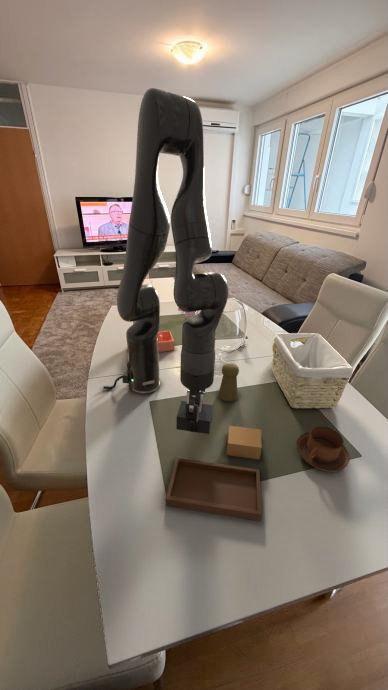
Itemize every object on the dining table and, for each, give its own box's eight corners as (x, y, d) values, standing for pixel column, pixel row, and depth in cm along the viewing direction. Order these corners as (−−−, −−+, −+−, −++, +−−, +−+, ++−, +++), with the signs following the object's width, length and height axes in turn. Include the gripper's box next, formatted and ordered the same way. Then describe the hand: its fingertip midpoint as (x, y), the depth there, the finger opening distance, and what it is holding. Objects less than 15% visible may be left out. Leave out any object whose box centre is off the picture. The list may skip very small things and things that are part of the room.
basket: (267, 368, 108) (273, 331, 101) (311, 368, 109) (320, 331, 102) (289, 412, 87) (298, 370, 80) (342, 411, 88) (356, 369, 81)
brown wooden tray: (165, 505, 61) (165, 499, 60) (176, 463, 70) (176, 457, 69) (260, 521, 59) (261, 514, 58) (258, 475, 68) (259, 469, 67)
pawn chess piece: (236, 402, 91) (240, 372, 86) (217, 399, 92) (219, 369, 87) (238, 390, 96) (241, 361, 91) (219, 388, 97) (221, 359, 92)
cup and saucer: (343, 485, 66) (350, 465, 63) (289, 461, 72) (294, 442, 69) (350, 449, 75) (357, 431, 72) (302, 430, 81) (306, 413, 78)
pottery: (170, 339, 127) (169, 318, 122) (174, 350, 119) (174, 327, 114) (127, 343, 123) (125, 321, 118) (128, 354, 115) (126, 331, 110)
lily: (173, 320, 147) (180, 307, 141) (171, 304, 155) (178, 290, 148) (195, 325, 152) (203, 312, 145) (192, 309, 159) (200, 296, 153)
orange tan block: (226, 455, 73) (227, 443, 71) (227, 437, 78) (229, 425, 76) (259, 459, 72) (261, 447, 70) (258, 441, 77) (260, 429, 75)
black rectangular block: (176, 429, 72) (176, 416, 70) (181, 412, 77) (181, 400, 75) (209, 434, 71) (210, 421, 69) (212, 417, 76) (213, 404, 74)
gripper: (187, 346, 72) (185, 400, 80) (173, 380, 60) (173, 440, 68) (217, 349, 71) (213, 404, 79) (210, 385, 59) (206, 445, 67)
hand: (194, 421), depth 73 cm, fingers closed on black rectangular block, 6 cm apart
